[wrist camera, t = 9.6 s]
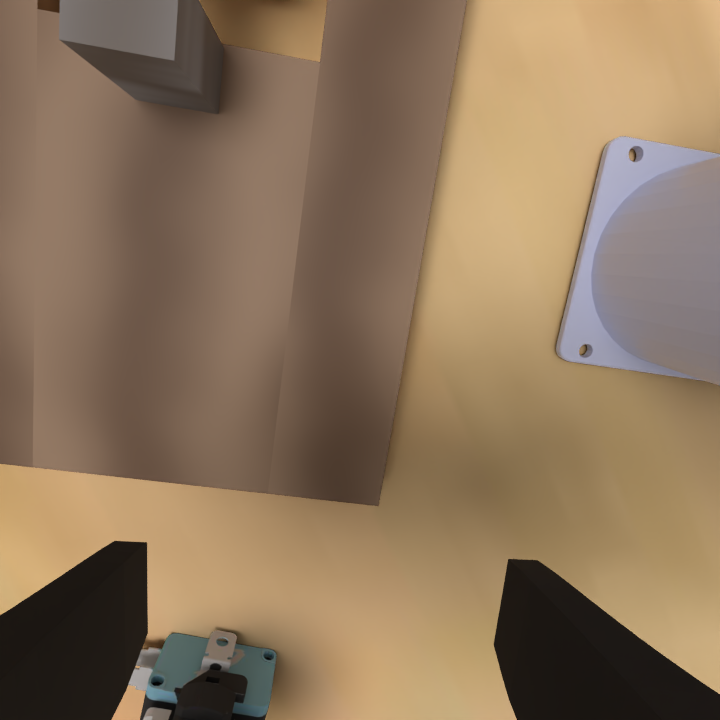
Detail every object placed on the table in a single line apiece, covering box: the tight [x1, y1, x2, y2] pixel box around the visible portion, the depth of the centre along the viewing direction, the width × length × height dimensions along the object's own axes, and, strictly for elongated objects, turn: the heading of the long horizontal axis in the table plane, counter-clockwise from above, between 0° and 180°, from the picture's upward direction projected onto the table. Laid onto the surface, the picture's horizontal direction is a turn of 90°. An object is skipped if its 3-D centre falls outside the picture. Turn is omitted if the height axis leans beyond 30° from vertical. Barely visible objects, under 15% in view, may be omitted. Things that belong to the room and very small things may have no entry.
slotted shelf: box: [0, 0, 467, 506], centre depth 13 cm, size 16×24×6 cm, turn 171°
